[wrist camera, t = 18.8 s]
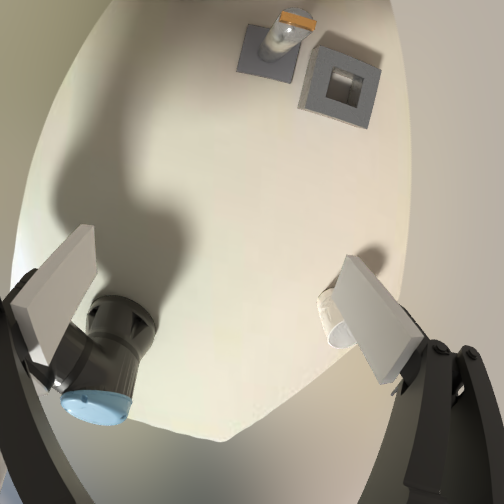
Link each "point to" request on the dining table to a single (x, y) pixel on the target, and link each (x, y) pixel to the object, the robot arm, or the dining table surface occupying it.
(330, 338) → the white cup
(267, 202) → the dining table surface
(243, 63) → the mat
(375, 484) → the robot arm
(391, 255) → the dining table surface
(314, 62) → the block
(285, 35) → the grey long rod
